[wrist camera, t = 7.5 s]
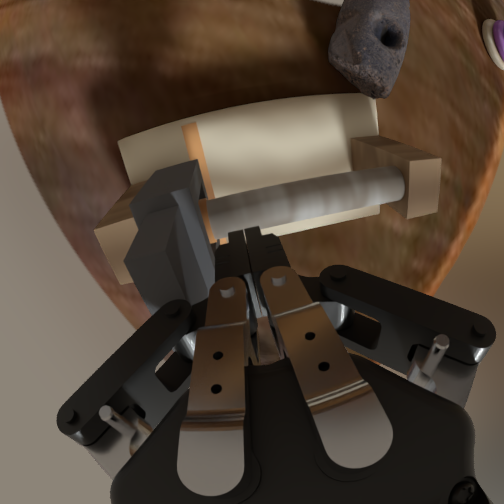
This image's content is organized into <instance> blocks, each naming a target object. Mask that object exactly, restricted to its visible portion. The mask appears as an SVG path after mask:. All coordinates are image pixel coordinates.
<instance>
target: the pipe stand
mask: <svg viewBox="0 0 504 504" xmlns="http://www.w3.org/2000/svg"><path fill="white" fill-rule="evenodd" d="M117 142H118V145H119V148H120V152H121V155H122V158H123V161H124V164H125V168H126V171H127V174H128V177H129V180H130V183H131V186H130V187H129V188H128V189H127V190H126V192H125V193H124V194H123V195H122V196H121V197H120V198H119V200H118V201H117V202H116V203H115V204H114V205H113V207H112V208H111V209H110V210H109V211H108V213H107V214H106V215H105V216H104V217H103V219H102V220H101V221H100V222H99V224H98V225H97V226H96V228H95V229H94V232H95V234H96V237H97V239H98V241H99V243H100V245H101V247H102V249H103V251H104V254H105V256H106V258H107V260H108V262H109V264H110V266H111V267H112V269H113V271H114V273H115V275H116V277H117V279H118V281H119V283H120V284H121V285H122V284H127V283H131V282H133V280H132V278H131V276H130V274H129V272H128V270H127V268H126V266H125V264H124V262H123V261H124V259H125V256H126V254H127V252H128V250H129V248H130V246H131V244H132V242H133V240H134V238H135V236H136V234H137V232H138V227H137V225H136V222H135V220H134V217H133V215H132V212H131V209H130V207H129V204H130V203H131V201H132V200H133V199H134V197H135V196H136V195H137V193H138V192H139V191H140V189H141V188H142V187H143V186H144V184H145V183H146V182H147V181H148V179H149V178H150V177H151V176H152V174H153V173H154V172H155V171H156V170H159V169H163V168H166V167H170V166H173V165H176V164H180V163H184V162H187V161H191V160H195V159H198V162H199V166H200V170H201V173H202V177H203V181H204V185H205V188H206V192H207V196H208V199H207V198H204V199H200V200H199V201H198V204H199V208H200V211H201V214H202V218H203V221H204V225H205V228H206V231H207V235H208V238H209V241H210V244H211V243H215V242H217V239H220V245H221V244H226V243H229V240H228V232H232V231H237V230H241V229H243V231H244V229H245V228H250V227H254V226H259V227H260V230H261V234H262V235H266V234H270V233H273V234H274V235H276V236H280V235H284V234H289V233H293V232H298V231H302V230H307V229H311V228H316V227H320V226H325V225H329V224H334V223H338V222H343V221H348V220H352V219H357V218H361V217H366V216H371V215H375V214H380V204H383V203H386V204H388V205H389V206H390V207H392V208H393V209H394V210H396V211H397V212H398V213H400V214H401V215H402V216H403V217H405V218H406V219H409V218H414V217H418V216H422V215H427V214H431V213H435V212H437V208H438V200H439V189H440V176H441V158H439V157H437V156H435V155H432V154H430V153H427V152H425V151H422V150H419V149H417V148H414V147H411V146H409V145H406V144H403V143H400V142H397V141H394V140H391V139H388V138H385V137H382V136H379V135H378V121H377V110H376V101H375V99H374V100H373V98H370V97H368V96H366V95H364V94H363V93H342V94H324V95H311V96H301V97H292V98H284V99H277V100H270V101H263V102H257V103H251V104H246V105H240V106H235V107H230V108H226V109H221V110H217V111H212V112H208V113H204V114H200V115H196V116H192V117H189V118H185V119H181V120H178V121H174V122H171V123H168V124H164V125H161V126H158V127H155V128H152V129H149V130H146V131H143V132H140V133H137V134H134V135H132V136H129V137H126V138H124V139H121V140H119V141H117ZM244 236H245V231H244ZM245 240H246V237H245ZM246 243H247V242H246Z"/></svg>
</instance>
